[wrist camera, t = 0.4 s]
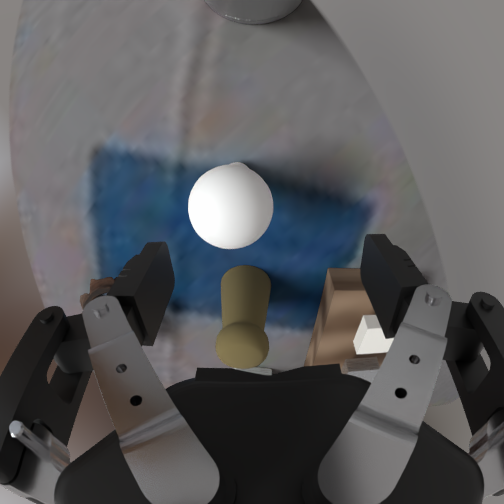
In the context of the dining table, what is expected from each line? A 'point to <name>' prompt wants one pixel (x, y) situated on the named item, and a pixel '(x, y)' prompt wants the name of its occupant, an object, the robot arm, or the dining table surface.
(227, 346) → the olive rounded waisted cylinder
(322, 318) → the key panel
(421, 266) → the dining table surface
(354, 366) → the grey key
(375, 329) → the off-white key
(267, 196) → the lightbulb
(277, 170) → the dining table surface
